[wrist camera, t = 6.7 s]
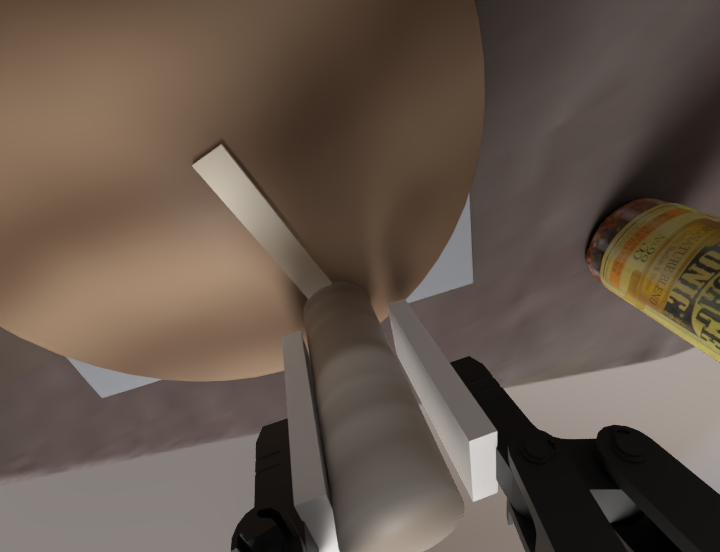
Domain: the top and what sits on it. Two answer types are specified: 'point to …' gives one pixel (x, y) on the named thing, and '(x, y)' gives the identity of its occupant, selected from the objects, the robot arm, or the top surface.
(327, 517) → the robot arm
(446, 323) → the top surface
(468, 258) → the wheel stand
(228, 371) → the handwheel
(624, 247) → the sauce bottle
